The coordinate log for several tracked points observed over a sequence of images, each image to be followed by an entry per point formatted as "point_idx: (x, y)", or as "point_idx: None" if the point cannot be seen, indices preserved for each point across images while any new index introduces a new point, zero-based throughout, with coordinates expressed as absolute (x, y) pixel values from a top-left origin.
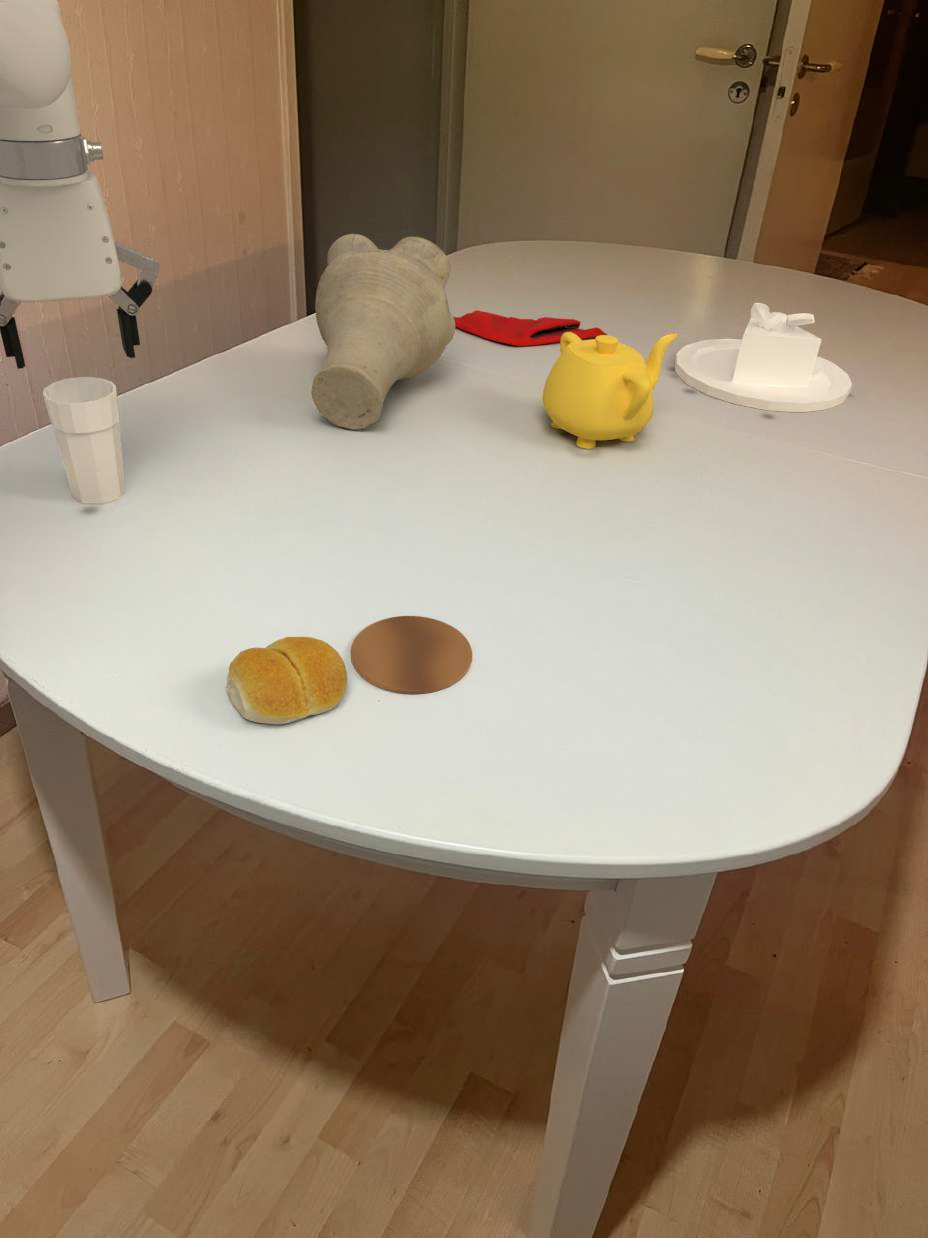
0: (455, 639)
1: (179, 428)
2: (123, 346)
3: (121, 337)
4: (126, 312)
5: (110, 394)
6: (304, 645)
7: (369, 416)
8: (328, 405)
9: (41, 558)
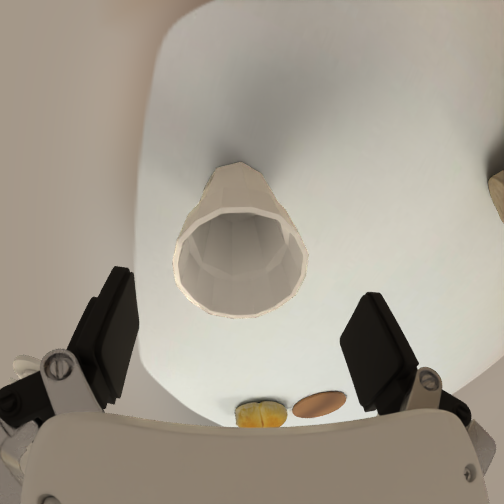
0: (339, 404)
1: (386, 75)
2: (358, 313)
3: (369, 314)
4: (377, 414)
5: (282, 303)
6: (272, 425)
7: (501, 216)
8: (499, 189)
9: (158, 288)
